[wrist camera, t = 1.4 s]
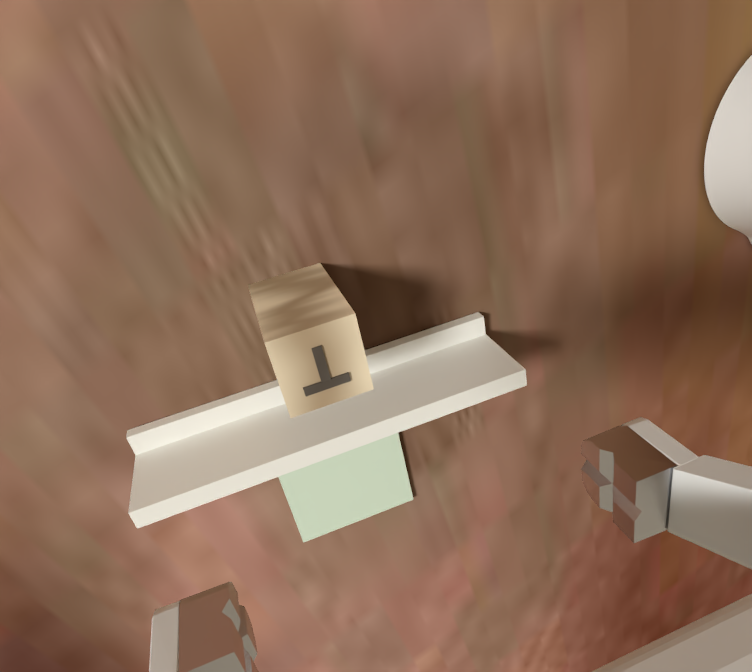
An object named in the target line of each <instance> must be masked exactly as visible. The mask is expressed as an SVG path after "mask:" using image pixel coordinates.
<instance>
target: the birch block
mask: <svg viewBox="0 0 752 672" xmlns="http://www.w3.org/2000/svg"><path fill="white" fill-rule="evenodd" d="M248 288H249V291H250V295H251V298H252V302H253V305H254V309H255V312H256V315H257V319H258V322H259V326H260V329H261V332H262V336H263V339H264V343H265V346H266V349H267V351H268V354H269V357H270V360H271V363H272V366H273V369H274V372H275V375H276V377H277V380H278V383H279V386H280V389H281V392H282V395H283V398H284V401H285V404H286V406H287V409H288V412H289V415H290V418H293V417H296V416H299V415H302V414H305V413H307V412H310V411H313V410H316V409H319V408H322V407H325V406H327V405H330V404H333V403H336V402H339V401H342V400H344V399H347V398H350V397H353V396H356V395H359V394H362V393H364V392H367V391H370V390H373V389H374V387H373V383H372V379H371V375H370V371H369V367H368V363H367V359H366V355H365V351H364V347H363V342H362V338H361V334H360V330H359V326H358V322H357V318H356V314H355V312H354V311H353V309H352V308H351V306H350V305H349V304H348V302H347V301H346V299H345V298H344V296H343V295H342V294H341V292H340V291H339V289H338V288H337V286H336V285H335V283H334V282H333V281H332V279H331V278H330V276H329V275H328V273H327V272H326V271H325V269H324V268H323V266H322V265H321V263H319V264H315V265H312V266H309V267H305V268H302V269H299V270H296V271H292V272H289V273H286V274H282V275H279V276H276V277H273V278H269V279H266V280H263V281H259V282H256V283H253V284H249V285H248Z"/></svg>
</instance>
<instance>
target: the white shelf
mask: <svg viewBox="0 0 752 672" xmlns="http://www.w3.org/2000/svg"><path fill="white" fill-rule="evenodd" d="M364 351H365V355H366V359H367V363H368V367H369V371H370V375H371V379H372V383H373V387H374V389H373V390H370V391H367V392H364V393H362V394H359V395H356V396H353V397H350V398H347V399H344V400H342V401H339V402H336V403H333V404H330V405H327V406H325V407H322V408H319V409H316V410H313V411H310V412H307V413H305V414H302V415H299V416H296V417H293V418H290V415H289V412H288V409H287V406H286V404H285V401H284V398H283V395H282V392H281V389H280V386H279V383H278V380H275V381H272V382H269V383H266V384H263V385H260V386H257V387H254V388H251V389H248V390H245V391H242V392H239V393H237V394H234V395H231V396H228V397H225V398H222V399H219V400H216V401H213V402H210V403H207V404H204V405H201V406H198V407H195V408H192V409H189V410H186V411H183V412H180V413H177V414H174V415H171V416H168V417H165V418H162V419H159V420H156V421H153V422H150V423H147V424H144V425H141V426H139V427H136V428H133V429H130V430H127V436H126V438H127V440H128V442H129V444H130V445H131V447H132V449H133V451H134V453H135V455H136V456H135V464H134V472H133V480H132V488H131V496H130V504H129V512H128V513H129V515H130V517H131V519H132V520H133V522H134V524H135V525H136V527H137V529H138V528H140V527H143V526H146V525H148V524H151V523H154V522H157V521H159V520H162V519H165V518H167V517H170V516H173V515H176V514H178V513H181V512H184V511H186V510H189V509H192V508H195V507H197V506H200V505H203V504H205V503H208V502H211V501H214V500H216V499H219V498H222V497H224V496H227V495H230V494H233V493H235V492H238V491H241V490H244V489H246V488H249V487H252V486H254V485H257V484H260V483H263V482H265V481H268V480H271V479H273V478H276V477H279V476H282V475H284V474H287V473H290V472H292V471H295V470H298V469H301V468H303V467H306V466H309V465H311V464H314V463H317V462H320V461H322V460H325V459H328V458H330V457H333V456H336V455H339V454H341V453H344V452H347V451H350V450H352V449H355V448H358V447H360V446H363V445H366V444H369V443H371V442H374V441H377V440H379V439H382V438H385V437H388V436H390V435H393V434H396V433H398V432H401V431H404V430H407V429H409V428H412V427H415V426H417V425H420V424H423V423H426V422H428V421H431V420H434V419H436V418H439V417H442V416H445V415H447V414H450V413H453V412H456V411H458V410H461V409H464V408H466V407H469V406H472V405H475V404H477V403H480V402H483V401H485V400H488V399H491V398H494V397H496V396H499V395H502V394H504V393H507V392H510V391H513V390H515V389H518V388H521V387H523V386H526V385H527V381H526V369H525V368H523V367H522V366H521V365H520V364H519V363H518V362H517V361H516V360H514V359H513V358H512V357H511V356H510V355H509V354H508V353H507V352H505V351H504V350H503V349H502V348H501V347H500V346H499V345H497V344H496V343H495V342H494V341H493V340H492V339H491V338H490V337H488V336H487V335H486V332H485V323H484V316H482V315H481V314H480V313H479V312H477V313H474V314H471V315H468V316H465V317H462V318H459V319H456V320H453V321H450V322H447V323H444V324H441V325H438V326H436V327H433V328H430V329H427V330H424V331H421V332H418V333H415V334H412V335H409V336H406V337H403V338H400V339H397V340H394V341H391V342H388V343H385V344H382V345H379V346H376V347H373V348H370V349H367V350H364Z"/></svg>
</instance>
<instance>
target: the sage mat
mask: <svg viewBox="0 0 752 672" xmlns="http://www.w3.org/2000/svg"><path fill="white" fill-rule="evenodd" d="M279 480H280V482H281V485H282V487H283V490H284V493H285V495H286V498H287V500H288V503H289V506H290V508H291V511H292V514H293V516H294V519H295V521H296V524H297V527H298V529H299V532H300V534H301V537H302V540H303V542H306V541H309V540H311V539H314V538H316V537H319V536H321V535H324V534H327V533H329V532H332V531H334V530H337V529H339V528H342V527H344V526H347V525H349V524H352V523H355V522H357V521H360V520H362V519H365V518H367V517H370V516H372V515H375V514H378V513H380V512H383V511H385V510H388V509H390V508H393V507H395V506H398V505H400V504H403V503H406V502H408V501H411V500H413V495H412V491H411V486H410V482H409V478H408V473H407V469H406V465H405V460H404V456H403V452H402V447H401V443H400V438H399V434H398V433H396V434H393V435H390V436H388V437H385V438H382V439H379V440H377V441H374V442H371V443H369V444H366V445H363V446H360V447H358V448H355V449H352V450H350V451H347V452H344V453H341V454H339V455H336V456H333V457H330V458H328V459H325V460H322V461H320V462H317V463H314V464H311V465H309V466H306V467H303V468H301V469H298V470H295V471H292V472H290V473H287V474H284V475H282V476H279Z"/></svg>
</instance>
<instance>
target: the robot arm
mask: <svg viewBox="0 0 752 672" xmlns="http://www.w3.org/2000/svg"><path fill="white" fill-rule="evenodd" d="M704 179H705V187H706V192H707V196H708V199H709V202H710V204H711V206H712V208H713V210H714V212H715V213H716V215H717V216H718V217H719V219H720V220H721V221H722V222H723V223H725V224H726V225H727V226H729V227H731V228H733V229H735V230H737V231H739V232H741V233H743V234H745V235H746V236H747V237H748V238H749V240H750V242H751V244H752V55H751V56H750V57H749V59H748V60H747V61H746V62H745V64H744V65H743V66H742V67H741V69H740V70H739V72H738V73H737V74H736V76H735V77H734V79H733V81H732V82H731V84H730V85H729V87H728V89H727V91H726V93H725V94H724V96H723V98H722V100H721V102H720V105H719V107H718V109H717V112H716V114H715V117H714V120H713V123H712V126H711V129H710V133H709V136H708V141H707V146H706V152H705V161H704ZM581 454H582V455H583V456H584V457H585V458H586V459H587V460H586V462H585V463H584V465H583V467H582V469H581V470H582V481H583V483H584V486H585V488H586V491H587V493H588V494H589V496H590V497H591V499H592V500H593V501H594V502H595V503H596V504H597V505H598V507H599V508H602V509H605V510H608V511H610V512H612V515H613V522H614V523H615V524H616V525H617V526H618V527H619V528H620V529H621V530H622V531H623V532H624V534H625V535H626V536H627V537H628V538H629V539H630V540H631V541H632V542H633V543H636V542H638V541H640V540H643V539H645V538H648V537H650V536H653V535H655V534H658V533H660V532H662V531H665V530H667V529H668V532H670V533H672V534H674V535H677V536H679V537H681V538H683V539H686V540H688V541H690V542H692V543H695V544H697V545H699V546H701V547H703V548H706V549H708V550H710V551H712V552H715V553H717V554H719V555H721V556H723V557H726V558H728V559H730V560H732V561H735V562H737V563H739V564H741V565H743V566H746V567H748V568H750V569H752V467H750V466H746V465H742V464H738V463H734V462H730V461H726V460H722V459H718V458H714V457H711V456H707V455H703V456H700V457H698V456H697V455H695V454H694V453H692V452H691V451H690V450H688V449H687V448H686V447H684V446H683V445H682V444H680V443H679V442H678V441H676V440H675V439H673V438H672V437H671V436H669V435H668V434H667V433H665V432H664V431H663V430H661V429H660V428H659V427H657V426H656V425H654V424H653V423H652V422H650V421H649V420H648V419H646V418H642V417H640V418H637V419H635V420H632V421H630V422H627V423H625V424H622V425H621V426H617V427H615V428H612V429H610V430H607V431H605V432H602V433H600V434H598V435H595V436H593V437H590V438H588V439H585V440H583V442H582V445H581ZM256 655H257V648H256V641H255V637H254V633H253V628H252V624H251V622H250V619H249V616H248V613H247V611H246V609H245V607H244V606H241V605H239V602H238V594H237V591H236V589H235V587H234V585H233V584H232V582H228V583H225V584H222V585H219V586H217V587H214V588H211V589H209V590H206V591H203V592H201V593H198V594H195V595H192V596H190V597H187V598H184V599H182V600H180V601H177V602H175V603H172V604H169V605H167V606H164V607H161V608H159V609H156V610H155V612H154V615H153V617H152V629H151V647H150V665H149V672H258V670H257V668H256V666H255V664H254V659H255V657H256ZM592 672H752V594H750V595H748V596H746V597H744V598H742V599H740V600H738V601H736V602H734V603H732V604H730V605H728V606H725V607H723V608H721V609H719V610H717V611H715V612H713V613H711V614H709V615H707V616H705V617H703V618H701V619H699V620H697V621H695V622H693V623H691V624H688V625H686V626H684V627H682V628H680V629H678V630H676V631H674V632H672V633H670V634H668V635H666V636H664V637H662V638H660V639H658V640H656V641H654V642H651V643H649V644H647V645H645V646H643V647H641V648H639V649H637V650H635V651H633V652H631V653H629V654H627V655H625V656H623V657H621V658H619V659H616V660H614V661H612V662H610V663H608V664H606V665H604V666H602V667H600V668H598V669H596V670H594V671H592Z"/></svg>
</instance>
